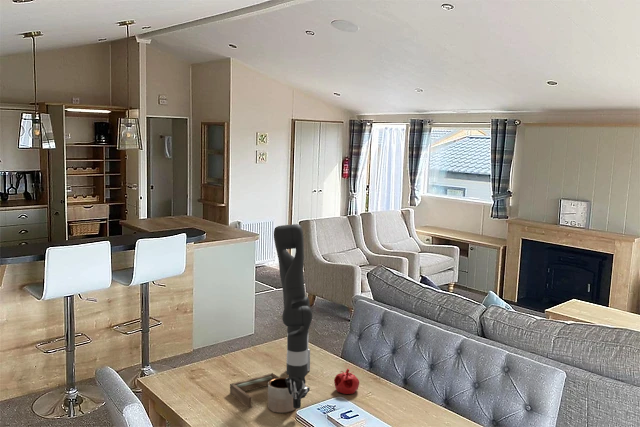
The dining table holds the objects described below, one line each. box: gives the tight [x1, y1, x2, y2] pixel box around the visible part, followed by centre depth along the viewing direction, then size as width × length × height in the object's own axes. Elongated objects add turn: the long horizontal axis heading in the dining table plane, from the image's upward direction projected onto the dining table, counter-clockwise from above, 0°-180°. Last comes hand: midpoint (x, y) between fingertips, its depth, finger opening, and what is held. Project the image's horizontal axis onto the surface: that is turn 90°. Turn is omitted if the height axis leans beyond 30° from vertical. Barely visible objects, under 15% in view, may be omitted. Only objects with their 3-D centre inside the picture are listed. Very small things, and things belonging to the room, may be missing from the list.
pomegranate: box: [333, 368, 360, 395], centre depth 227 cm, size 10×10×9 cm
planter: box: [267, 376, 296, 414], centre depth 212 cm, size 11×11×10 cm
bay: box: [229, 372, 280, 409], centre depth 223 cm, size 19×15×4 cm
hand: (296, 407), depth 204 cm, fingers closed
